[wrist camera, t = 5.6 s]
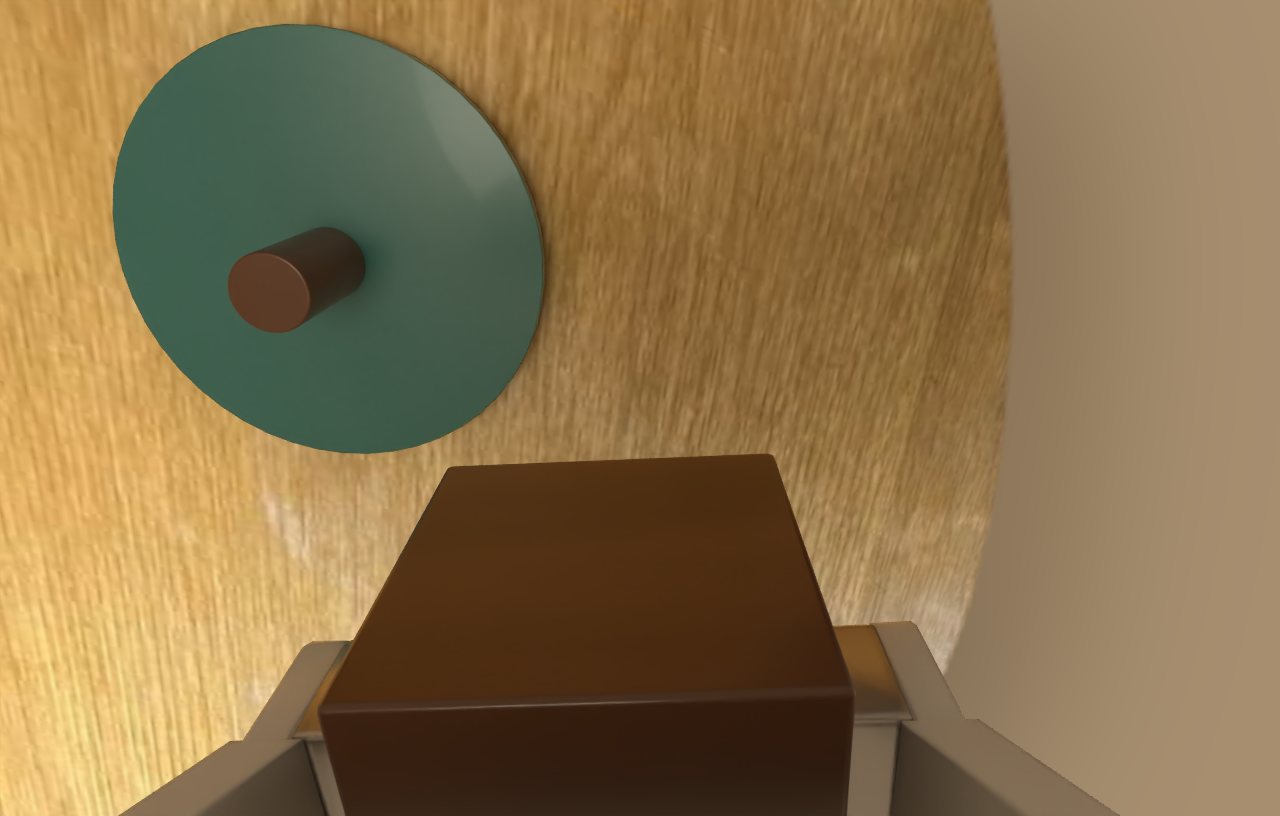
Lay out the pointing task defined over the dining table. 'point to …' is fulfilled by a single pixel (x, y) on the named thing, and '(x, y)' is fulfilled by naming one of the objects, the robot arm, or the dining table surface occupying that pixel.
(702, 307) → the dining table surface
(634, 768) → the block
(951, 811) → the robot arm
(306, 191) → the tin lid
